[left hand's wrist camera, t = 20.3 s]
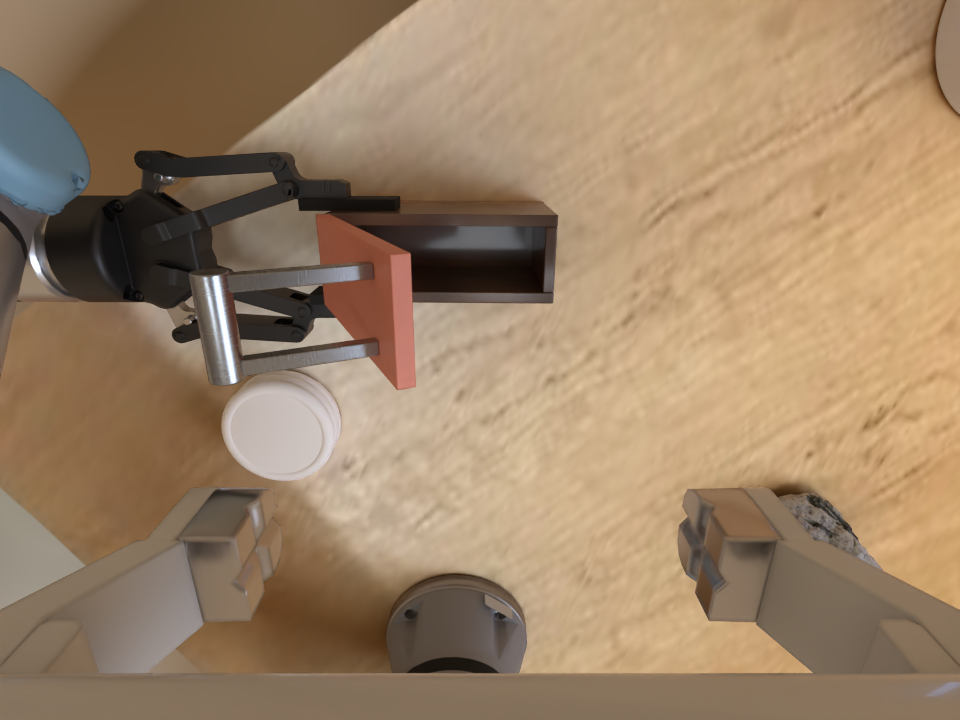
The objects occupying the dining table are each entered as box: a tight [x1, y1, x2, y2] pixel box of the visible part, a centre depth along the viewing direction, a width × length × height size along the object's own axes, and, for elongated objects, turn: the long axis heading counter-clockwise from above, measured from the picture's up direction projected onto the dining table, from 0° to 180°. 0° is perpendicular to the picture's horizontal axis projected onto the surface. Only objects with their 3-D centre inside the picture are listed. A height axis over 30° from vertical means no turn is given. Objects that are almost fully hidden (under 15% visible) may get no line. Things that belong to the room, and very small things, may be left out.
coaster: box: [221, 370, 341, 481], centre depth 49 cm, size 10×10×4 cm
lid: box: [189, 214, 416, 390], centre depth 27 cm, size 16×6×8 cm
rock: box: [778, 492, 883, 571], centre depth 53 cm, size 15×10×7 cm
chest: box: [325, 201, 558, 303], centre depth 40 cm, size 15×6×10 cm, turn 90°
